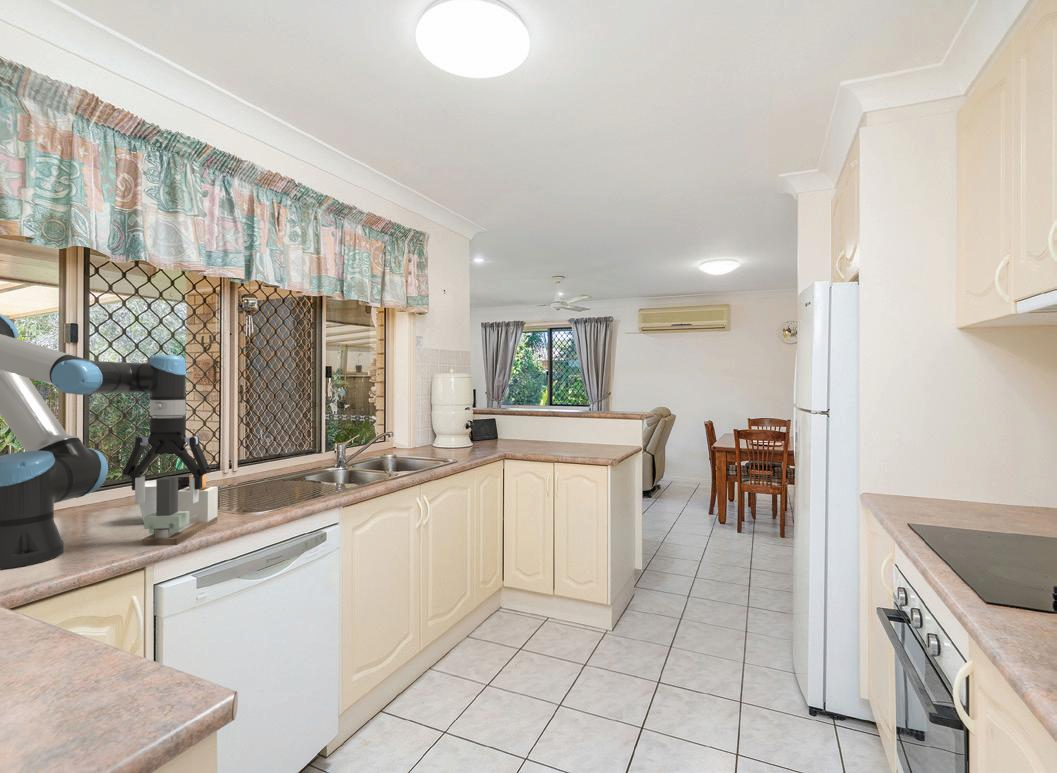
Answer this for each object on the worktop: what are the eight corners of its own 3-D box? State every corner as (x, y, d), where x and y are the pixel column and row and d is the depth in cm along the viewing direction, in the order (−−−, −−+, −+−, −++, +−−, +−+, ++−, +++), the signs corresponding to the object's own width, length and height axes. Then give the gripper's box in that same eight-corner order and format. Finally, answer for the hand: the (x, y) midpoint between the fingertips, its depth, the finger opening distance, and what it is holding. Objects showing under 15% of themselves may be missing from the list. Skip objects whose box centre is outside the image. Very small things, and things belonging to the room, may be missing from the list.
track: (141, 545, 130) (141, 531, 130) (187, 522, 152) (187, 509, 152) (176, 544, 131) (176, 530, 131) (217, 521, 153) (217, 509, 153)
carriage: (144, 533, 131) (144, 480, 131) (155, 528, 136) (155, 476, 136) (179, 533, 132) (179, 479, 132) (189, 527, 137) (189, 476, 137)
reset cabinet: (176, 522, 146) (176, 491, 146) (187, 516, 152) (187, 487, 152) (207, 521, 147) (207, 490, 147) (217, 516, 153) (217, 486, 153)
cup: (141, 528, 145) (140, 488, 145) (130, 522, 152) (129, 483, 151) (182, 520, 153) (182, 482, 153) (170, 514, 159) (169, 478, 159)
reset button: (186, 494, 147) (186, 476, 147) (193, 491, 151) (193, 473, 151) (201, 493, 148) (201, 475, 148) (208, 490, 152) (208, 473, 152)
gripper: (105, 417, 129) (104, 507, 129) (212, 417, 132) (211, 505, 132) (124, 415, 136) (124, 500, 136) (225, 416, 139) (225, 498, 139)
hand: (167, 502), depth 134 cm, fingers open, 12 cm apart
